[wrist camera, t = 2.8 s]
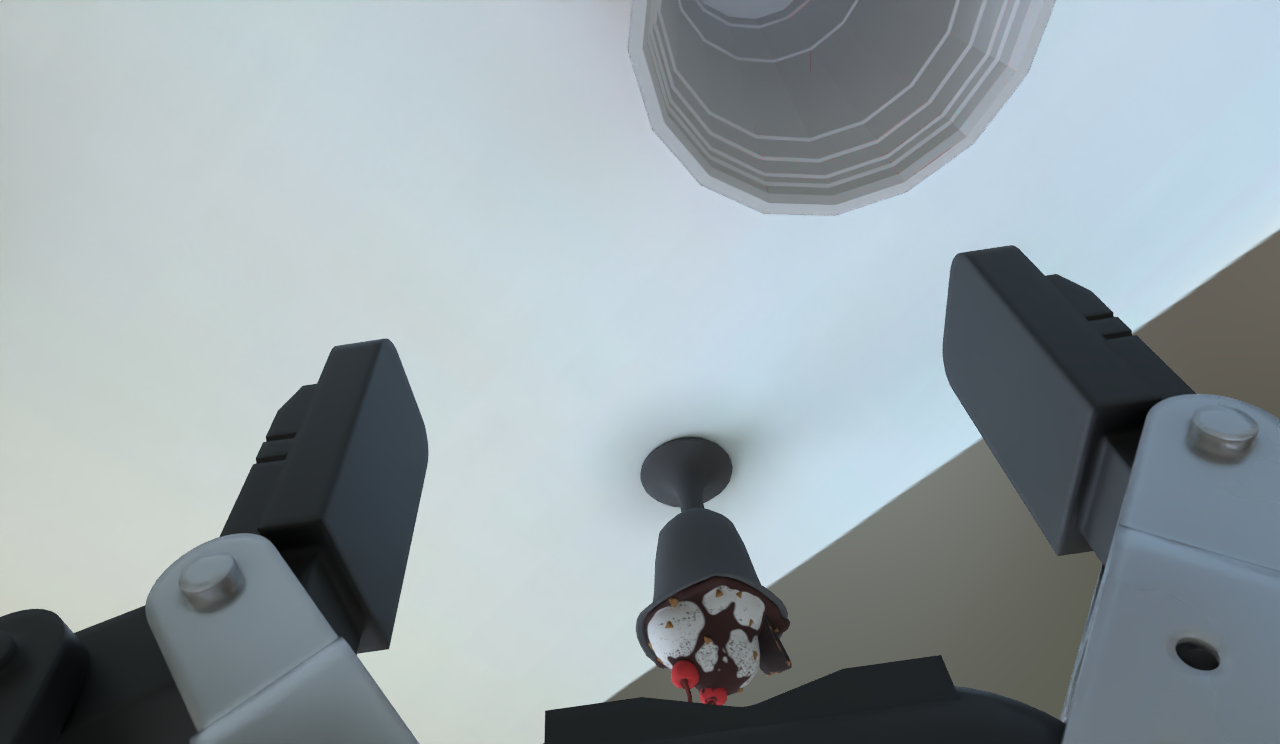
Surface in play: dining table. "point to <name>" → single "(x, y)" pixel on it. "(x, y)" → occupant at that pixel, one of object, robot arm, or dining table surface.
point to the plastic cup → (826, 91)
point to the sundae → (705, 582)
